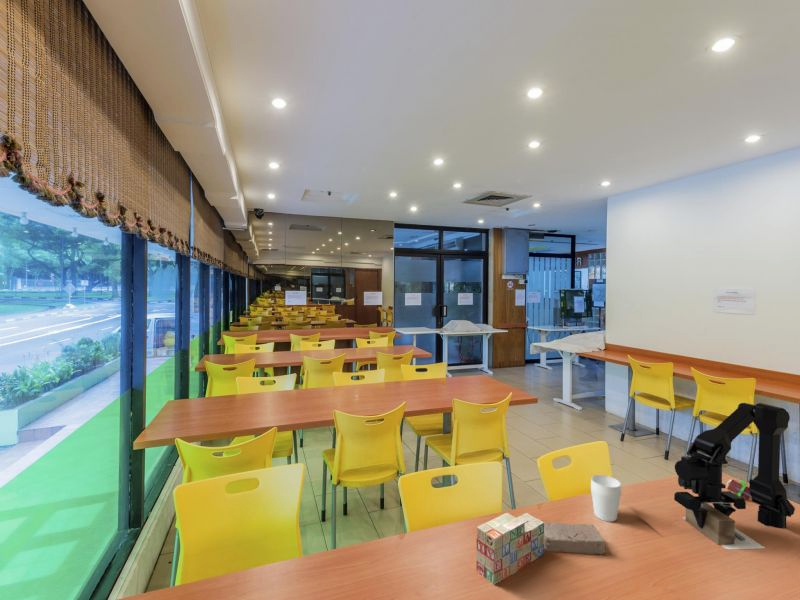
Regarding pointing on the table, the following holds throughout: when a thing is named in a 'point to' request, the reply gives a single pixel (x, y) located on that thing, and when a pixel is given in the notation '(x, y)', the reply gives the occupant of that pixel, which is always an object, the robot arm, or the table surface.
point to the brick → (573, 538)
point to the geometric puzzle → (739, 488)
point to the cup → (605, 497)
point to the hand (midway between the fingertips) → (708, 527)
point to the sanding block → (714, 525)
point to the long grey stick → (739, 537)
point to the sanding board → (742, 543)
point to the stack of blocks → (508, 545)
